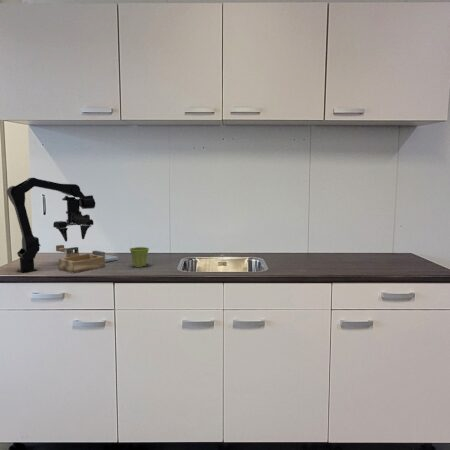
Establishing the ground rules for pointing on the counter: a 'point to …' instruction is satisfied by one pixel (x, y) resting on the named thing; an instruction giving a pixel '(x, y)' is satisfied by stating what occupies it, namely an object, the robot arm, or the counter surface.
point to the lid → (107, 257)
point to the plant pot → (139, 256)
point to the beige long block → (62, 249)
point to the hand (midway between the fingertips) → (74, 240)
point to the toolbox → (80, 261)
